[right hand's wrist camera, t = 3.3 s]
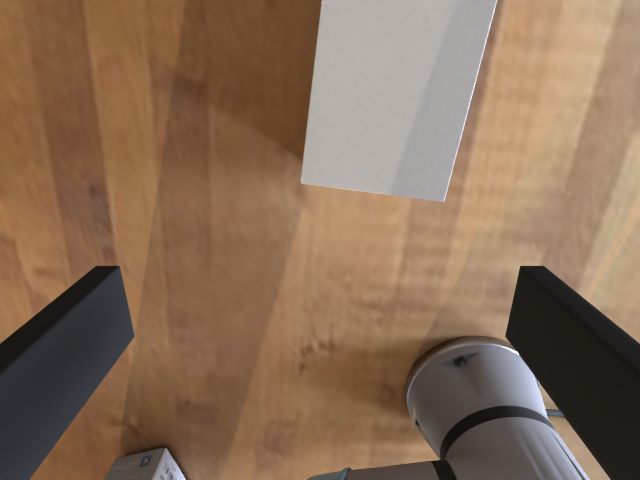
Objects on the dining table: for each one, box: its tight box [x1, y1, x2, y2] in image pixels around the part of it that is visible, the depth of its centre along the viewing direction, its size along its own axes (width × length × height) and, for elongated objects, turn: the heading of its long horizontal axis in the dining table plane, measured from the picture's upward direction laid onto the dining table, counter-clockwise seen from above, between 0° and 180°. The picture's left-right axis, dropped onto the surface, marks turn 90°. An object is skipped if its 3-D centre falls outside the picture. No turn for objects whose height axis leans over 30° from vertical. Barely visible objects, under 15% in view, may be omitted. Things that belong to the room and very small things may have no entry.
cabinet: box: [300, 0, 497, 202], centre depth 30 cm, size 19×11×8 cm, turn 172°
